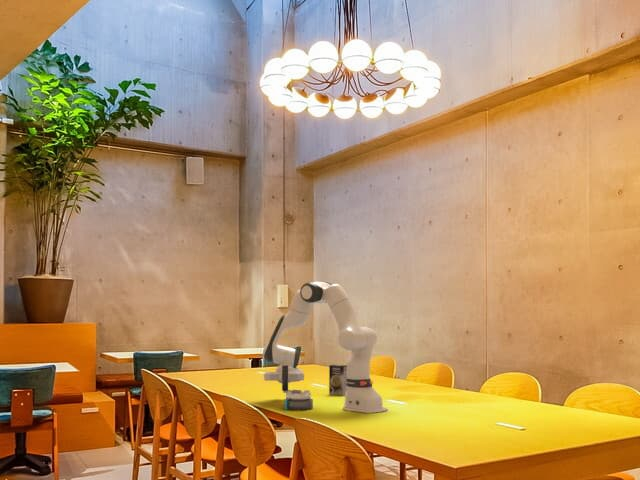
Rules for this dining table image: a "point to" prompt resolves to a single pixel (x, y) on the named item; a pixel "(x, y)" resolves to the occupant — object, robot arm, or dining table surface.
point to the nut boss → (298, 405)
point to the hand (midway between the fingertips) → (284, 378)
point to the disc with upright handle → (293, 394)
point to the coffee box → (337, 379)
